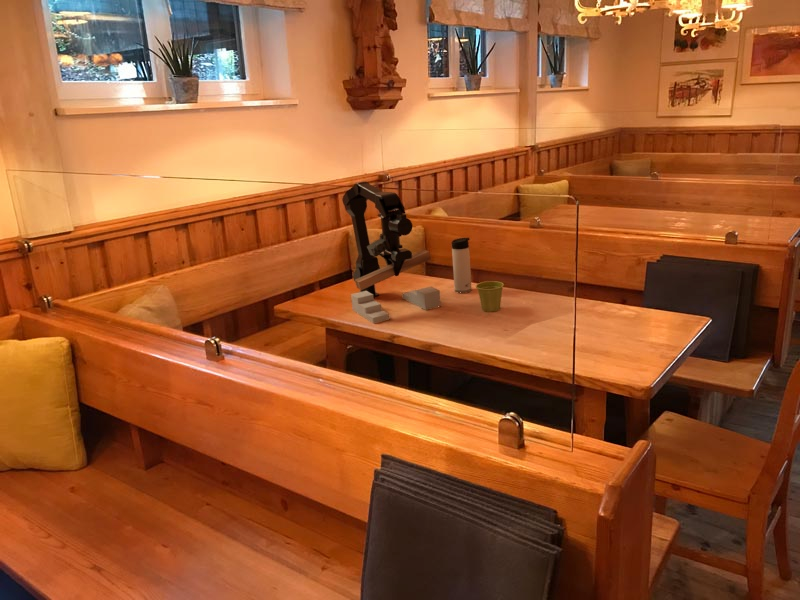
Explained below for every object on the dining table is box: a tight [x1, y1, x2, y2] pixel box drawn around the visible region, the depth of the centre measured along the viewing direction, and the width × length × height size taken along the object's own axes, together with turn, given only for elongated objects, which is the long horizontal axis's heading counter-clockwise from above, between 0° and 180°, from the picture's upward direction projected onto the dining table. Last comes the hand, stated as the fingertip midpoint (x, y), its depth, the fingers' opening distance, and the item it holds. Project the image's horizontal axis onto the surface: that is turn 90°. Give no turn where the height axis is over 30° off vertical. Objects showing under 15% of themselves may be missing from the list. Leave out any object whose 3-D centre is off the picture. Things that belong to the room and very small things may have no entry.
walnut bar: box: [354, 249, 432, 290], centre depth 234 cm, size 4×28×3 cm, turn 116°
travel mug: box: [451, 237, 473, 294], centre depth 248 cm, size 6×7×20 cm
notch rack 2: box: [401, 286, 442, 311], centre depth 242 cm, size 18×6×6 cm, turn 26°
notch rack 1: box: [350, 291, 390, 324], centre depth 234 cm, size 18×6×6 cm, turn 26°
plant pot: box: [475, 280, 505, 313], centre depth 228 cm, size 9×9×9 cm
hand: (394, 274), depth 234 cm, fingers closed on walnut bar, 3 cm apart
